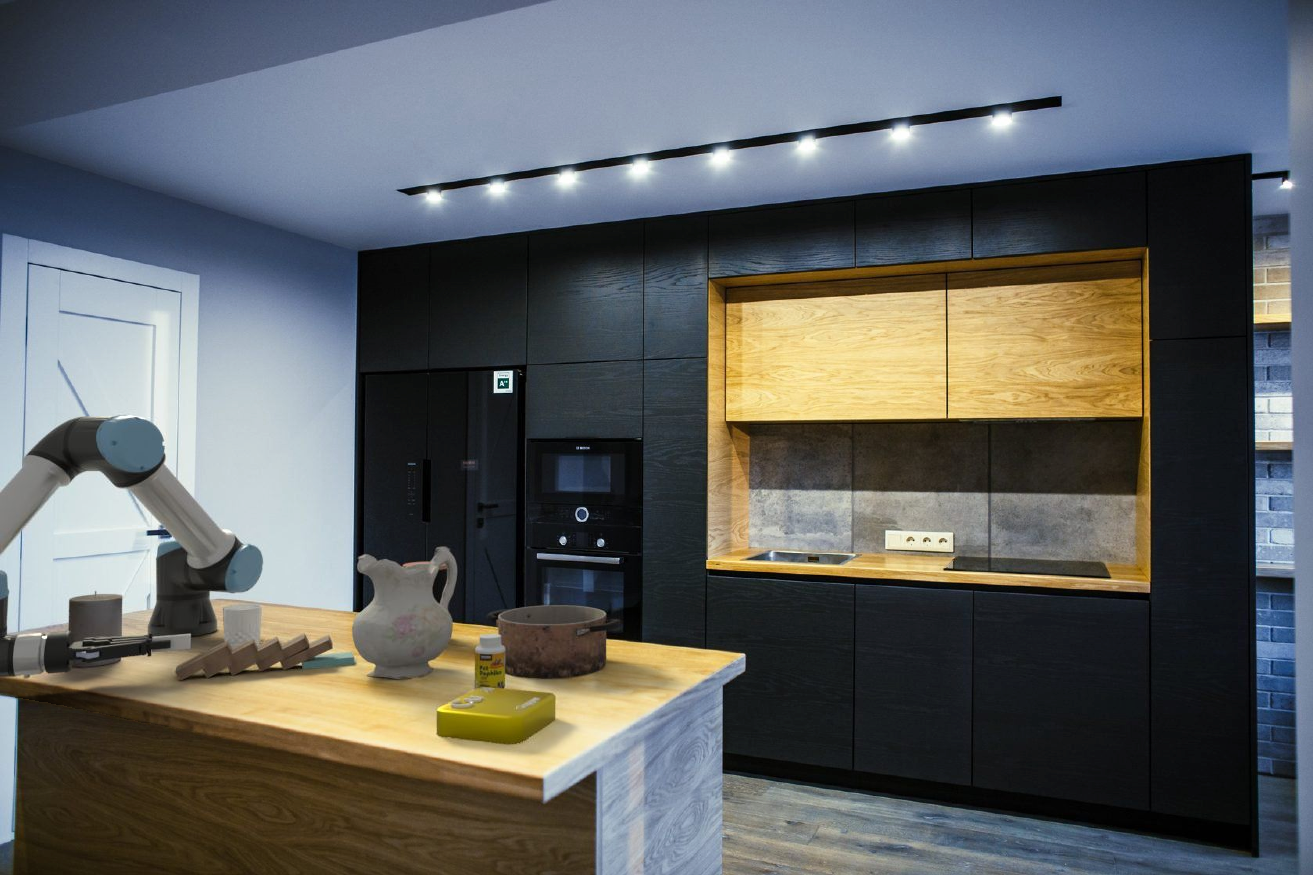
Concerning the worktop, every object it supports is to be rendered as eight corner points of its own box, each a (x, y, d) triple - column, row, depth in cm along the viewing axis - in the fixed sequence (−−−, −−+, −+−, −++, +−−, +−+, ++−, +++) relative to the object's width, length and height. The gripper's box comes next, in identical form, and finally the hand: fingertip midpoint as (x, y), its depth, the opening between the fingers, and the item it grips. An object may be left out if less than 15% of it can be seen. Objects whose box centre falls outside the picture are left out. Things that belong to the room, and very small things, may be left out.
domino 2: (203, 663, 174) (252, 637, 178) (207, 672, 174) (257, 646, 178) (202, 669, 169) (253, 642, 173) (206, 678, 170) (257, 651, 173)
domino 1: (176, 666, 172) (227, 640, 176) (181, 674, 172) (232, 648, 176) (174, 671, 167) (227, 645, 171) (179, 680, 167) (232, 653, 171)
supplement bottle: (474, 696, 157) (475, 639, 157) (474, 688, 162) (474, 633, 162) (506, 694, 158) (506, 638, 158) (504, 686, 163) (504, 632, 164)
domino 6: (301, 656, 182) (351, 651, 186) (301, 666, 182) (351, 661, 186) (302, 661, 177) (354, 656, 181) (302, 671, 177) (354, 666, 181)
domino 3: (228, 661, 176) (276, 636, 180) (232, 670, 176) (281, 644, 180) (227, 667, 171) (277, 640, 175) (232, 675, 171) (282, 649, 175)
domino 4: (256, 657, 178) (304, 632, 182) (261, 665, 179) (308, 641, 182) (255, 663, 174) (304, 638, 177) (260, 671, 174) (308, 646, 177)
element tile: (517, 747, 130) (518, 715, 130) (431, 737, 135) (431, 706, 135) (559, 718, 144) (559, 690, 144) (480, 710, 149) (480, 682, 149)
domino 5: (280, 655, 180) (328, 634, 183) (284, 664, 180) (332, 642, 184) (279, 661, 175) (328, 639, 179) (283, 670, 176) (332, 648, 179)
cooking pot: (640, 662, 184) (640, 611, 184) (588, 687, 164) (588, 630, 164) (522, 648, 196) (522, 601, 197) (460, 670, 176) (460, 617, 177)
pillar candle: (57, 664, 181) (58, 592, 181) (105, 654, 190) (106, 586, 190) (84, 669, 176) (85, 595, 177) (132, 659, 185) (133, 589, 185)
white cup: (268, 648, 196) (269, 603, 196) (248, 656, 188) (249, 610, 188) (235, 647, 197) (236, 603, 197) (214, 655, 189) (215, 609, 189)
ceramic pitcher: (416, 660, 189) (410, 546, 190) (483, 664, 179) (476, 543, 181) (333, 683, 170) (327, 556, 172) (403, 688, 161) (396, 554, 162)
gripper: (52, 665, 166) (191, 653, 176) (38, 681, 154) (188, 667, 165) (53, 626, 166) (192, 616, 177) (39, 639, 155) (189, 627, 165)
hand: (190, 641), depth 171 cm, fingers closed
